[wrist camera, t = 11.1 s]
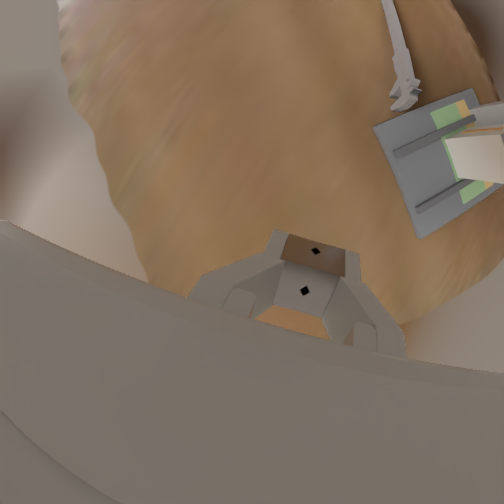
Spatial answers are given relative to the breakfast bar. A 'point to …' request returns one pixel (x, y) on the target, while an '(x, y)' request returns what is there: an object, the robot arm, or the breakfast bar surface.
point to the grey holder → (436, 158)
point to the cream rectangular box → (478, 153)
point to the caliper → (400, 63)
